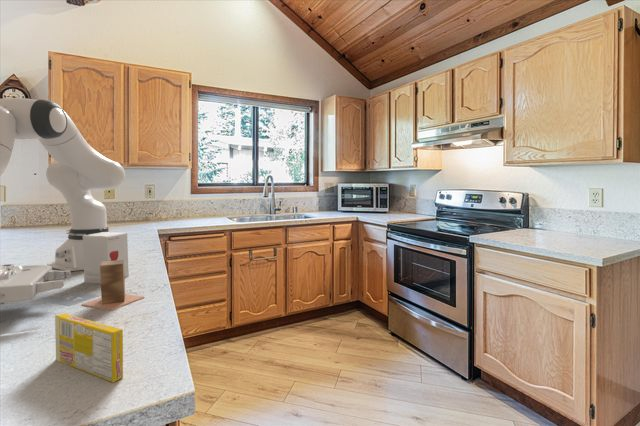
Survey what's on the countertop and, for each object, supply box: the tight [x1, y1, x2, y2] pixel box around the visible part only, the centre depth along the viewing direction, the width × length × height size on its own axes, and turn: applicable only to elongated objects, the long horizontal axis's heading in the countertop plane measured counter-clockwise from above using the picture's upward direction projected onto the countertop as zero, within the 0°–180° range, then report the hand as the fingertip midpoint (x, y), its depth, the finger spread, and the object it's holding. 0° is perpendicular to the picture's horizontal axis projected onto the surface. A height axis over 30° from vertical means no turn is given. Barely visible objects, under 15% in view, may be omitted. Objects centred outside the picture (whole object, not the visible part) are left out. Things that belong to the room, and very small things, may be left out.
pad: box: [81, 293, 145, 311], centre depth 93 cm, size 10×10×1 cm
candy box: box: [54, 312, 124, 384], centre depth 60 cm, size 16×2×8 cm, turn 64°
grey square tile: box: [44, 291, 101, 307], centre depth 95 cm, size 9×9×1 cm
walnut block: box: [100, 260, 126, 305], centre depth 93 cm, size 5×5×10 cm
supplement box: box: [83, 231, 129, 284], centre depth 113 cm, size 9×9×15 cm
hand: (66, 278), depth 88 cm, fingers open, 8 cm apart
